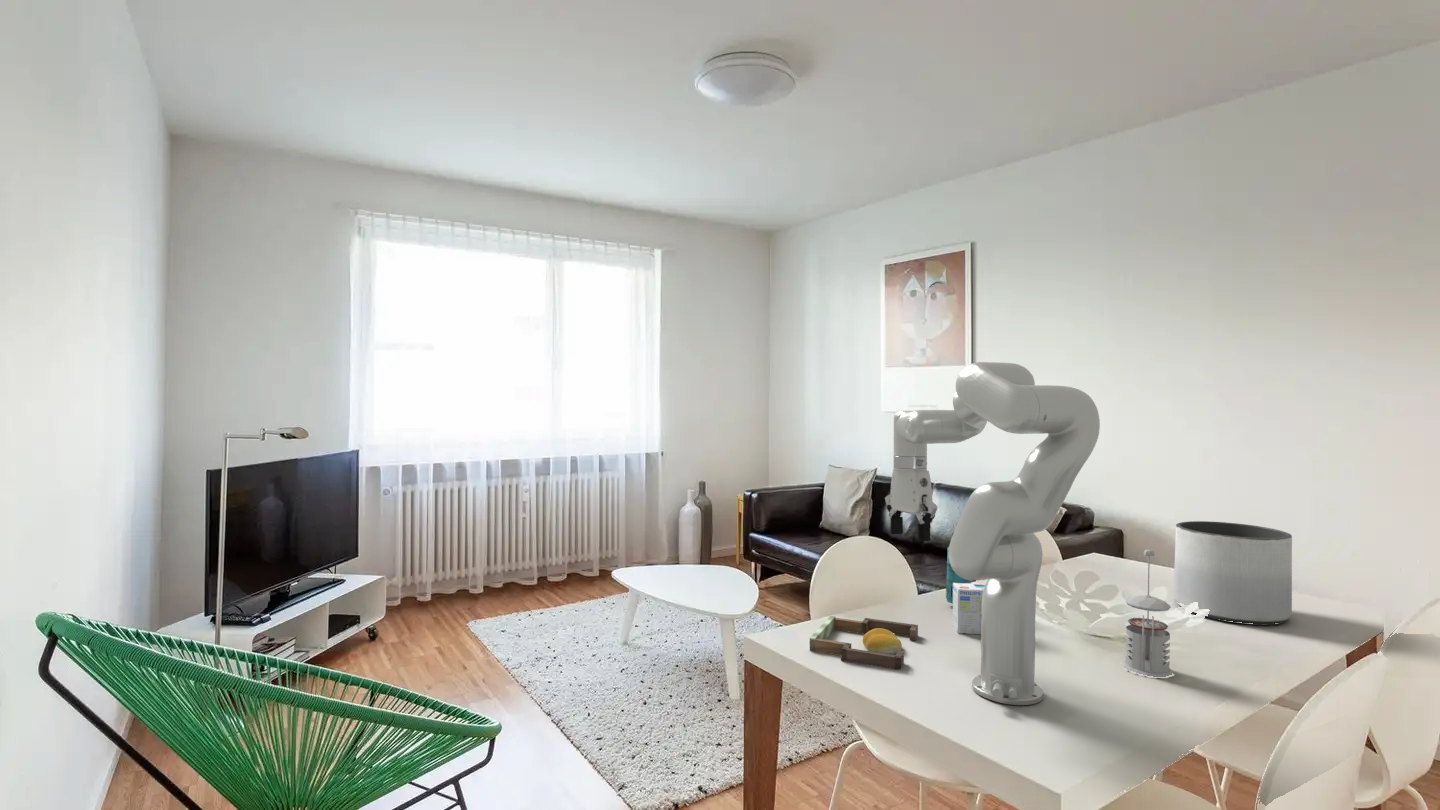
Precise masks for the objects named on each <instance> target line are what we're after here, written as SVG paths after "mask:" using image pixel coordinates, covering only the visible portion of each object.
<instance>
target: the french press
mask: <svg viewBox="0 0 1440 810" xmlns="http://www.w3.org/2000/svg"><path fill="white" fill-rule="evenodd" d="M1143 555H1144V556H1147V561H1148V563H1147V594H1146V595H1145V594H1144V595H1142V594H1139V595H1134V596H1131V597H1129V598H1127V599H1126V600H1125V603H1126V604H1127V606H1129V607H1131V608H1134V609H1138V610H1141V611H1142V610H1143V611H1147V616H1146V617H1147V618H1145V615H1144V614H1143V615H1142V617H1130V618H1129V619H1128V620H1127V622H1128V623H1129V625H1126V626H1125V634H1126V636H1125V640H1126V642H1125V646H1126V647H1125V649H1124V651H1125V652H1126V653H1127V654H1126V653H1125V655H1124V656H1125V659H1124V660H1123V661H1122V662H1121V663H1122V666H1123V667H1124V668H1126V669H1127V670H1130V671H1133V672H1136V673H1139V674H1143V675H1147V676H1153V677H1166V676H1169V675H1172V673H1173V672H1174V671H1173V670H1172V669H1171V668H1170V661H1168V660H1169V659H1171V658H1170V655H1168V654H1169V653H1170V652H1171V650H1170V649H1167V648H1169V647H1171V643H1170V642H1169V641H1170V640H1171V633H1170V632H1169V631H1168V630H1167V629H1168V627H1169V626H1168V625H1167V624H1166V623H1165V622H1163V621H1160V620H1158V619H1157V620H1156V619H1155V618H1154V617H1155V616H1151V618H1149V615H1150V614H1149V612H1166V611H1169V610H1170V609H1171V608H1172V606H1171V605H1170V604H1169V603H1167V601H1165V600H1163V599H1160V598H1159V597H1156V596H1151V595H1150V565H1151V564H1150V562H1151V560H1150V559H1151V558H1150V557H1154V556H1155V552H1154V551H1153V550H1152V549H1144V551H1143ZM1127 642H1128V643H1127ZM1167 642H1169V643H1167ZM1172 671H1173V672H1172Z"/></svg>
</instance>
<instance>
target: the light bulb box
mask: <svg viewBox="0 0 1440 810" xmlns="http://www.w3.org/2000/svg"><path fill="white" fill-rule="evenodd" d="M985 585H986V583H973V582H972V583H953V604H952V627H953V626H954V627H953V628H954V629H956V630H955V631H956V633H957V632H958V633H959V634H963V633H967V634H969V635H981V621H982V596H983V591H984V588H985ZM958 633H957V634H958Z"/></svg>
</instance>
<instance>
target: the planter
mask: <svg viewBox="0 0 1440 810" xmlns="http://www.w3.org/2000/svg"><path fill="white" fill-rule="evenodd" d="M1174 538H1175V542H1174V545H1175V546H1174V568H1173V569H1174V570H1173V572H1174V573H1173V574H1174V575H1173V600H1174V602H1175V603H1176V602H1178V603H1182V604H1184V605H1189V604H1190V603H1193V602H1198V607H1199V609H1209V610H1210V611H1209V614H1208V618H1207V619H1211V618H1214V619H1213V620H1216V619H1220V620H1219V621H1221V620H1226V621H1233V622H1242V623H1253V624H1274V625H1276V624H1275V623H1279V624H1281V622H1282V623H1284V621H1285V622H1287V621H1289V620H1290V619H1291V618H1292V613H1293V612H1292V611H1293V603H1292V602H1293V584H1292V582H1293V579H1292V578H1293V577H1292V575H1293V571H1292V570H1293V569H1292V567H1293V564H1292V563H1293V536H1292V534H1291V533H1288V532H1286V531H1283V530H1280V529H1275V528H1271V527H1266V526H1261V525H1260V526H1259V525H1253V524H1252V525H1251V524H1246V523H1245V524H1244V523H1237V522H1236V523H1235V522H1225V521H1223V522H1222V521H1205V520H1204V521H1203V520H1202V521H1201V520H1194V521H1182V522H1178V523H1176V524H1175V537H1174ZM1226 621H1225V622H1226Z"/></svg>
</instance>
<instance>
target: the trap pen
mask: <svg viewBox="0 0 1440 810" xmlns="http://www.w3.org/2000/svg"><path fill="white" fill-rule="evenodd" d="M875 628H883V629H886V630H889V631H891V632H892V633H895V634H894V635H898V634H902V635H901V636H905V635H908V636H907V637H909V641H910V640H912V642H916V640H917V638H918V636H919V625H918V624H913V623H906V622H905V623H904V622H899V621H898V622H897V621H892V620H891V621H889V620H884V619H883V620H882V619H876V618H870V617H869V618H868V617H865V618H864V619H863V620H862V621H861V620H855V619H849V618H840V617H839V618H838V617H836V616H834V615H830V616H829V617H828V618H827V619H826V620H825V621H824V622H823V623H822V624H821V625H820V626H819V628H818V629H817V630H816V631H814V633H812V635H811V636H810V637H809V651H813V652H817V653H824V654H830V655H837V656H840V661H843V662H847V663H853V664H854V663H855V664H860V665H865V666H866V665H867V666H871V665H872V667H873V666H874V667H878V668H879V667H880V668H884V669H890V670H897V671H901V670H902V669H903V666H904V664H905V651H904V650H900V651H898V652H897V653H895V654H884V653H878V652H871V651H868V650H865V649H864V650H863V649H857V648H852V643H851V642H845V641H844V642H843V641H837V640H831V639H827V638H828V637H829V636H830V635H831V634H830V633H832V632H833V631H834V630H835V629H836V630H837V631H841V630H843V632H848V631H850V633H855V632H858V634H862V633H864V635H865V634H866V633H867V632H868V631H870V630H872V629H875ZM829 634H830V635H829Z"/></svg>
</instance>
